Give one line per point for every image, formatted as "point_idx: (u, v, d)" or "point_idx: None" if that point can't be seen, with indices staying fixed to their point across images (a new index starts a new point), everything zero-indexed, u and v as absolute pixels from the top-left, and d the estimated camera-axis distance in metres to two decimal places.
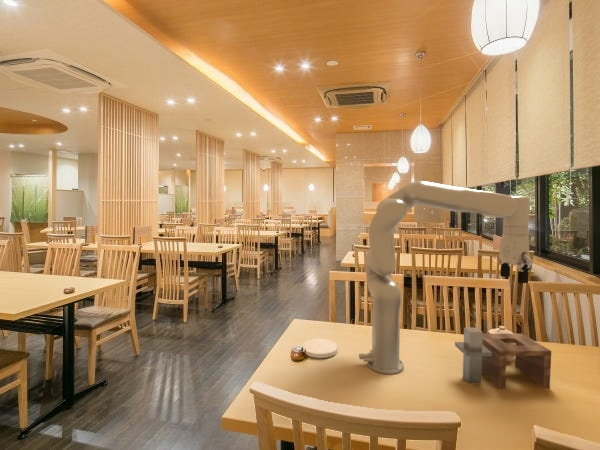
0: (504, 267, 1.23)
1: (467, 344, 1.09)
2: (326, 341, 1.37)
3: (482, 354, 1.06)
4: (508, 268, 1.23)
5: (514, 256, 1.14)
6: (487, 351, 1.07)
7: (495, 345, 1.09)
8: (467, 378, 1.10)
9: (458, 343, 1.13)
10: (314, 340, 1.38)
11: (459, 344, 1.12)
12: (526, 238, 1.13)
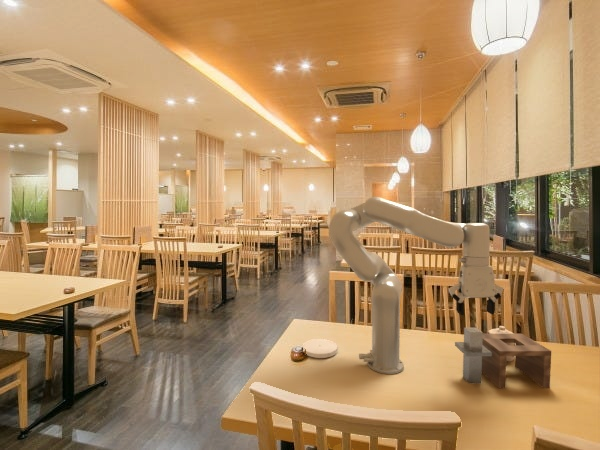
0: None
1: (467, 344, 1.09)
2: (326, 341, 1.37)
3: (482, 354, 1.06)
4: None
5: (492, 288, 1.06)
6: (487, 351, 1.07)
7: (495, 345, 1.09)
8: (467, 378, 1.10)
9: (458, 343, 1.13)
10: (314, 340, 1.38)
11: (459, 344, 1.12)
12: None
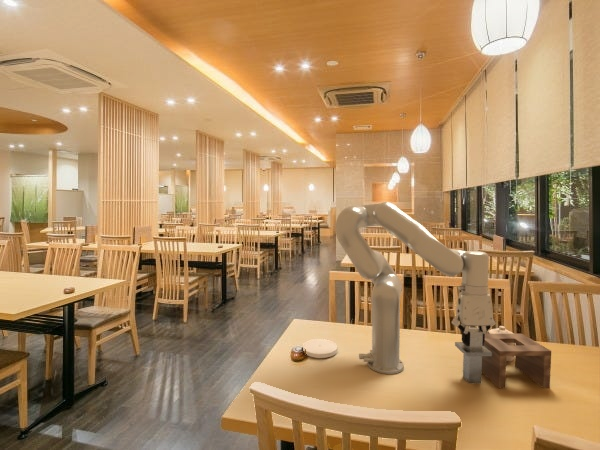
0: None
1: None
2: (326, 341, 1.37)
3: (482, 354, 1.06)
4: None
5: (490, 316, 1.07)
6: (487, 351, 1.07)
7: (495, 345, 1.09)
8: (467, 378, 1.10)
9: (458, 343, 1.13)
10: (314, 340, 1.38)
11: (459, 344, 1.12)
12: None
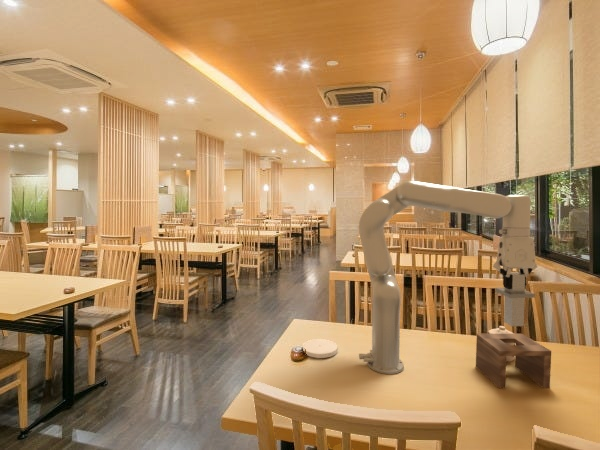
0: None
1: None
2: (326, 341, 1.37)
3: (525, 295, 1.07)
4: None
5: (533, 258, 1.07)
6: (530, 293, 1.07)
7: (495, 345, 1.09)
8: (509, 321, 1.10)
9: (499, 288, 1.13)
10: (314, 340, 1.38)
11: (500, 289, 1.12)
12: None
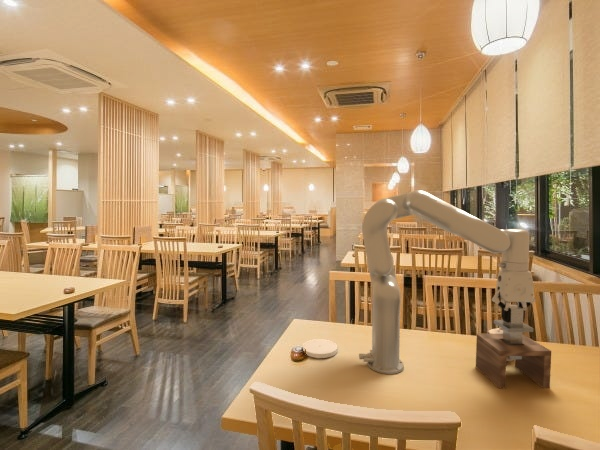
0: None
1: None
2: (326, 341, 1.37)
3: (524, 330, 1.07)
4: None
5: (531, 293, 1.08)
6: (528, 327, 1.08)
7: (495, 345, 1.09)
8: None
9: (497, 320, 1.14)
10: (314, 340, 1.38)
11: (499, 322, 1.13)
12: None
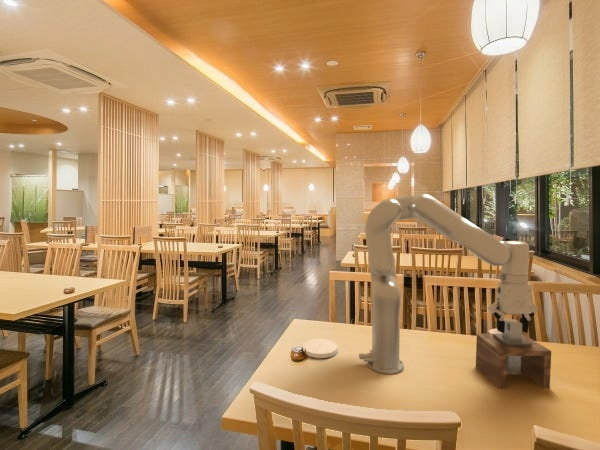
0: None
1: (506, 335, 1.11)
2: (326, 341, 1.37)
3: (522, 345, 1.08)
4: None
5: (530, 305, 1.08)
6: (527, 342, 1.08)
7: (495, 345, 1.09)
8: (506, 369, 1.11)
9: (496, 335, 1.15)
10: (314, 340, 1.38)
11: (498, 336, 1.14)
12: None
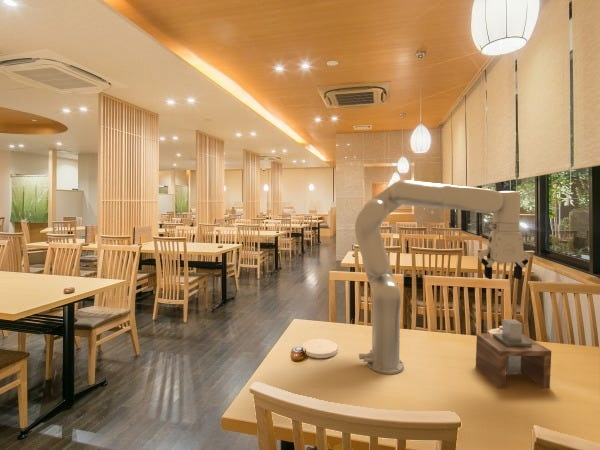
0: None
1: (506, 335, 1.11)
2: (326, 341, 1.37)
3: (522, 345, 1.08)
4: None
5: (521, 253, 1.10)
6: (527, 342, 1.08)
7: (495, 345, 1.09)
8: (506, 369, 1.11)
9: (496, 335, 1.15)
10: (314, 340, 1.38)
11: (498, 336, 1.14)
12: None
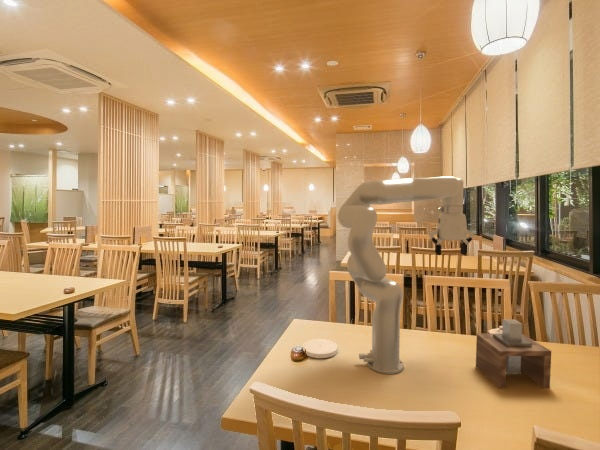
0: None
1: (506, 335, 1.11)
2: (326, 341, 1.37)
3: (522, 345, 1.08)
4: None
5: (465, 232, 1.27)
6: (527, 342, 1.08)
7: (495, 345, 1.09)
8: (506, 369, 1.11)
9: (496, 335, 1.15)
10: (314, 340, 1.38)
11: (498, 336, 1.14)
12: None
